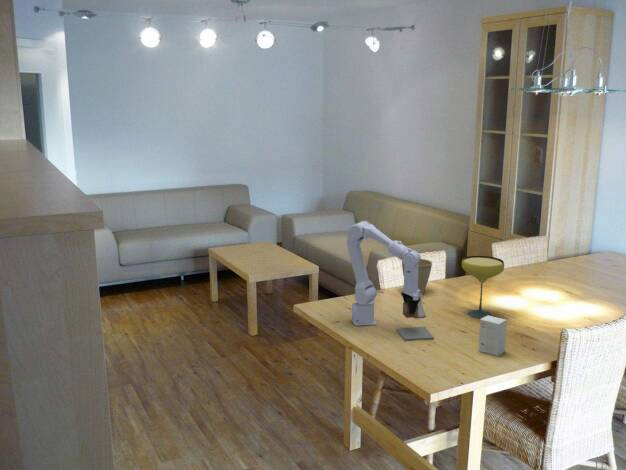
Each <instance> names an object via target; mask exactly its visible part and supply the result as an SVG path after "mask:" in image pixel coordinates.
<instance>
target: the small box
mask: <svg viewBox="0 0 626 470" xmlns="http://www.w3.org/2000/svg"><path fill="white" fill-rule="evenodd" d="M478 334H479V336H478V352H481V353H485V354H489V355H491V356H494V357H498V356H500V355H502V354H503V353H505V352H506V340H507V338H506V337H507V319H504V318H500V317H495V316H493V315H492V316H489V315H488V316H486V317H484V318H482V319H480V318H479V333H478Z"/></svg>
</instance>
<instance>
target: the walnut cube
mask: <svg viewBox="0 0 626 470" xmlns="http://www.w3.org/2000/svg"><path fill="white" fill-rule="evenodd" d="M402 315H403V316H404V317H405V318H406V319H410V318H411V319H413V318H414V317H418V305H417V308H416V312H415V314H410V313H409V307H408V302H404V301H403V302H402Z"/></svg>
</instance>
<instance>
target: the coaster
mask: <svg viewBox="0 0 626 470" xmlns="http://www.w3.org/2000/svg"><path fill="white" fill-rule="evenodd" d="M396 331H397V333H398V334H399V335H400V336H401V338H402V339H403V341H404V342H409V341H410V342H411V341H426V340H434V339H435V338H434V336H433V335H432V333H430V331H429V330H428V329H427V328H426V326H415V327H397V328H396Z"/></svg>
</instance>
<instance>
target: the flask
mask: <svg viewBox="0 0 626 470" xmlns="http://www.w3.org/2000/svg"><path fill="white" fill-rule="evenodd" d="M422 297H423V294H420V293H418V298H420V301H419V303H418V317H414V318H415V319H416V318H417V319H419V318H421V319H422V318H425V317H426V316H427V315H426V312H425V309H424V306H423V301H422Z"/></svg>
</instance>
